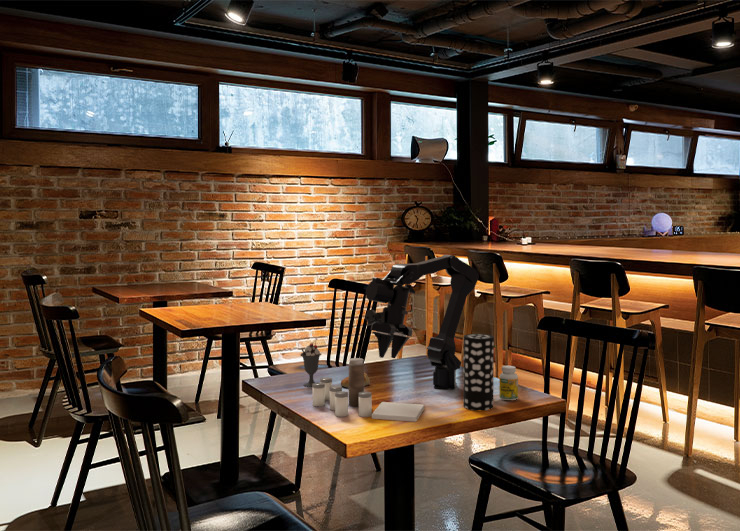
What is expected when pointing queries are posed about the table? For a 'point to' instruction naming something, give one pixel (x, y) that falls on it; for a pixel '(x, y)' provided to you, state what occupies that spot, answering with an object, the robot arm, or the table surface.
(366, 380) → the pastry
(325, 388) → the shakers
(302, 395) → the table surface
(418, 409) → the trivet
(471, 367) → the spotted tube
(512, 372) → the supplement bottle
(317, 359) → the sundae
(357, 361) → the pepper mill
